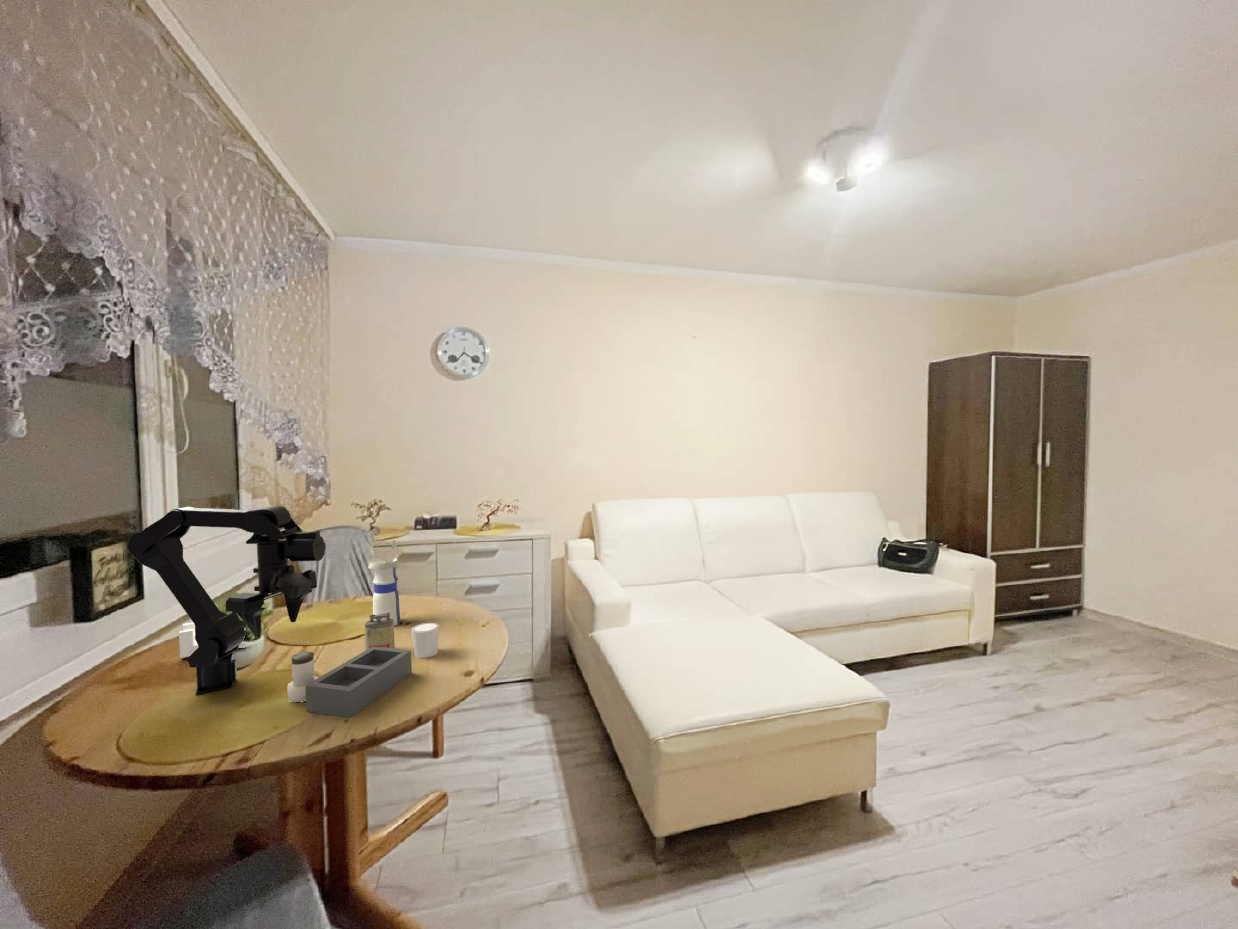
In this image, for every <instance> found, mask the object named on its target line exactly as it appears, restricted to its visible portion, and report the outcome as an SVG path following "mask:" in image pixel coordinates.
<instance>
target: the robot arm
mask: <svg viewBox="0 0 1238 929" xmlns="http://www.w3.org/2000/svg"><path fill="white" fill-rule="evenodd" d="M191 527H198V528H199V527H204V528H205V527H206V528H208V527H209V528H227V529H228V528H229V529H230V528H231V529H239V530H242V531H244V532H247V533H252V535H251V537H250V538H248V539H247V540H246V541H245V543H246V544H247V545H256V552H257V553H256V555H257V557H256V558H257V567H254V568H253V569H252V570H253V574H257V575H258V576H257V577H258V578H257V579H258V585H255V586H253V588H254V589H253V591H254V592H258V593H254V592H252V593H251V592H242V593H238V594H236V595H232V596H230V597H229V596H228V598H227V599H226V600H225V612H223V611H221V610H220V609H219V608H218V606H217V604H215V602H214V601H213V599H212V598H211V596H210V595H209V594H208V592H207V591H206V589H205V588H204V586H203V585H202V583H201V582H200V581H199V579H198V578H197V576H195V574H194V573H193V571H192V569H191V568H190V567H189V566H188V564H187V563H186V561H185V560H184V545H183V543H182V540H181V539H182V538H183V537H184V536H186V535H187V534H188V532H189V531H190V529H191ZM126 548H127V551H128V553H129V554H130V555H131V556H132V557H133V558H134V559H135V560H136V561H137V562H138V563H139V564H140V565H142V566H145V567H147V568H148V569H150V570H153V571H155V572H156V573H157V574H158V576H159V577H160V579H161V580H162V582H164V584H165V585H166V586H167V588H168V589H169V591H170V592H171V593H172V595H173V596H174V598H175V599H176V601H177V602H178V603H179V605H180V606H181V608H182V609H183V610H184V612H185V613H186V615H187V616H188V618H189V619H190V620H191V622H192V623H194V625H195V640H196V642H197V644H198V648H197V649H196V650H195V651H194V652H193V653H192V654H191V655H190V656H189V657H186V661H187V663H188V666H189V667H190V668H195V671H196V690H195V693H196V694H195V695H198V694H197V693H201V694H203V693H204V694H205V693H209V691H210V692H214V691H219V689H220V690H223V689H222V688H224V689H228V688H227V687H229V688H232V687H233V685H234V682H236V681H237V678H238V670H237V669H238V668H237V664H238V663H237V659H236V658H235V659H234V652H235V653H236V652H237V651H238V650H239V648H240V647H239V645H240V644H241V643H242V642H243V640H244V638H245V635H246V634H247V633H246V632H247V631H246V628H245V626H247V627H248V629H249V630H250V632H251V633H252V635H253V636H254V637H255V638H257V639H258V638H260V637H261V634H262V614H263V613H264V611H265V610H266V607H263V606H264V604H265V601H267V600H268V599H271V598H274V597H277V596H279V595H280V596H281V595H283V596H284V601H285V605H286V611H287V614H288V619H289V622H290V623H296V621H297V618H298V615H299V613H300V611H301V607H302V604H303V601H304V599H305V598H306V597H307V596H308V595H309V594H311V593H313V590H314V589H315V588H318V582H317V580H318V579H317V573H316V571H315V570H313V569H311V568H310V569H307V570H305V571H304V572H302V571H300V572H295V566H294V565H293V563H289V561H291V562H319V561H321V560H323V558H324V557H325V554H326V550H327V549H326V548H327V547H326V542H325V539H324V538H323V536H321V532H320V530H311V531H303V530H302V529H301V527H300V526H299V525H298V523H296V521H295V520H294V519H293V518H292V516H291V513H290V511H289V510H288V509H287V507H285V506H283V505H272V506H271V505H270V506H265V507H263V506H262V507H257V508H250V509H249V508H248V509H233V508H231V509H230V508H229V509H228V508H210V507H209V508H208V507H207V508H203V507H192V506H185V507H179V508H173V509H172V510H170V511H169V512H167V513H166V514H165V515H164V516H163V517H161V518H160V519H158V520H157V521H155V522H153V523H151V524H150V525H148V526H147V527H145V528H144V529H143V530H142V531H139V532H137V533H135V534H133V535H131V536H130V538H129V540H128V543H127V544H126ZM226 612H230V613H229V614H227V613H226ZM239 617H240V618H241V619H240V618H239ZM241 620H242V621H243V622H242V621H241ZM244 628H245V629H244ZM246 636H247V635H246Z"/></svg>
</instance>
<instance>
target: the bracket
mask: <svg viewBox="0 0 1238 929" xmlns="http://www.w3.org/2000/svg"><path fill="white" fill-rule="evenodd" d="M182 624H183V625H182V630H180V631H179V632H178V638H179V639H178V640H179V657H180V659H184V658H188V657H189V656H190V655H191V654H192V653H193V652H194V651H195V650H196V649H197V648H198V644H197V642H196V640H195V625H194V623H193V622H188V623H182Z"/></svg>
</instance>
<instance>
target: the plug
mask: <svg viewBox="0 0 1238 929" xmlns="http://www.w3.org/2000/svg"><path fill="white" fill-rule="evenodd" d="M314 656H315V655H314V652H313V651H303V652H299V653H295V654H294V655H292V656H291V658H290V659H291V673H292V674H291V675H292V681H290V682H289V683H288V684H287V686H286V688H287V691H286V692H287V700H288V699H289V700H290V701H292V702H301V701H305V700H306V685H307V684H309V683H311V682H312V681H314V680H316V679H317V678H319V676H317V675H315V662H314V661H315V660H314V659H315V657H314Z"/></svg>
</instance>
